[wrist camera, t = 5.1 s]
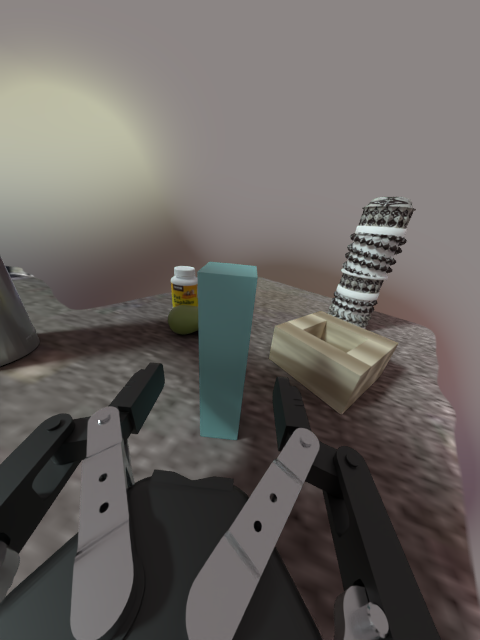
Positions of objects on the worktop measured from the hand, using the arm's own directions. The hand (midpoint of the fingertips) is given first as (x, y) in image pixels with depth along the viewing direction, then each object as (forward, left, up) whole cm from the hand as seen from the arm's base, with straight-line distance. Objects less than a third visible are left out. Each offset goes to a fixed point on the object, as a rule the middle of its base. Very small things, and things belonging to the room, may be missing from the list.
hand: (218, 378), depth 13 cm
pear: (+8, +21, -9) cm, 24 cm away
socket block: (+20, +1, -9) cm, 22 cm away
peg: (+2, +2, -9) cm, 10 cm away
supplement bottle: (+9, +28, -9) cm, 31 cm away
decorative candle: (+39, +7, -9) cm, 41 cm away
